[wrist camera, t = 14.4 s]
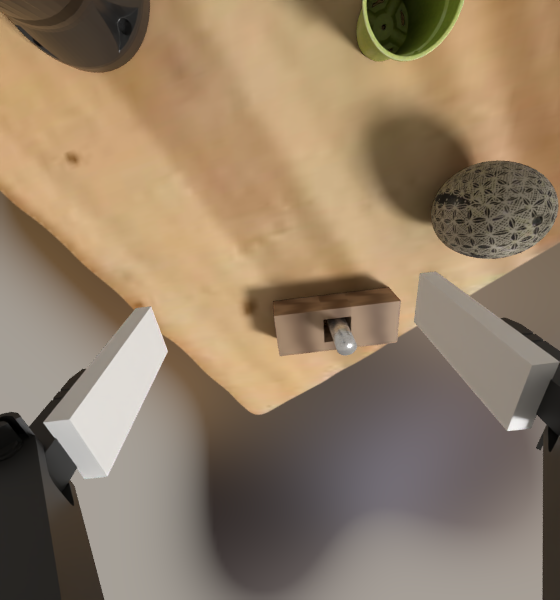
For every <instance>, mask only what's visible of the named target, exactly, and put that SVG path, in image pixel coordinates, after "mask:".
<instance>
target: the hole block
mask: <svg viewBox="0 0 560 600" xmlns="http://www.w3.org/2000/svg"><path fill="white" fill-rule="evenodd" d="M400 304H401V301H400V299H399V298H398V297H397V296H396V295H395V294H394V293H393V291H392V290H391V289H390V288H389V287H387V288H379V289H370V290H362V291H354V292H346V293H337V294H329V295H321V296H313V297H304V298H296V299H288V300H280V301H273V309H274V321H275V328H276V335H277V341H278V348H279V355H280V356H286V355H294V354H302V353H311V352H319V351H328V350H336V346H335V343H334V341H333V338H332V335H331V332H330V329H329V327H328V325H325V326H324V323H323V320H325V319H334V318H342V317H344V318H345V320H346V322H347V325H348V327H349V329H350V331H351V333H352V335H353V337H354V339H355V342H356V344H357V347H361V346H370V345H378V344H387V343H395V342H397V337H398V326H399V315H400Z"/></svg>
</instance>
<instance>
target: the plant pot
mask: <svg viewBox="0 0 560 600" xmlns="http://www.w3.org/2000/svg"><path fill="white" fill-rule="evenodd" d="M377 1H378V0H362V9H361V12H360V15H359V18H358V22H357V28H356V36H357V42H358V45H359V48H360V50H361V51H362V53H363V54H364V55H365V56H366V57H368V58H369V59H371V60H374V61H384V60H388V59H393V60H397V61H411V60H415V59H418V58H421V57H423V56H425V55H426V54H428V53H430V52H431V51H432V50H434V49H435V48H436V47H437V46H438V45H439V44H440V43H441V42H442V41H443V40H444V39H445V38H446V36H447V35H448V34H449V32H450V31H451V29H452V28H453V26H454V24H455V22H456V20H457V18H458V16H459V14H460V12H461V9H462V6H463V3H464V0H384V2H383V3H380V4H378V5H376V6H374V7H372V4H373V3H375V2H377ZM400 11H402V13H403V15H404V25H403V26H402V24H401V15H400V14H401V13H400ZM384 24H385V25H386V28H385V29H384V30H382V28H381V27H382V25H384ZM391 48H393V49H392V51H391V52H389V51H387V50H389V49H391Z"/></svg>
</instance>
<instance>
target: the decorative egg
mask: <svg viewBox="0 0 560 600" xmlns="http://www.w3.org/2000/svg"><path fill="white" fill-rule="evenodd" d="M557 212H558V199H557V194H556V192H555V189H554V187H553V186H552V184H551V183H550V181H549V180H548V179H547V178H546V177H545V176H544V175H543V174H541V173H540V172H538V171H537V170H535V169H533V168H531V167H529V166H526V165H523V164H520V163H516V162H510V161H488V162H482V163H478V164H475V165H472V166H469V167H467V168H465V169H463V170H461V171H459V172H458V173H456V174H455V175H453V176H452V177H451V178H450V179H449V180H448V181H446V183H445V184H444V185H443V186H442V187H441V189H440V190H439V191H438V193H437V195H436V197H435V199H434V201H433V205H432V210H431V220H432V225H433V229H434V231H435V233H436V235H437V236H438V238H439V239H440V240H441V241H442V242H443V243H444V244H445V245H446V246H447V247H449V248H450V249H452V250H454V251H456V252H458V253H460V254H463V255H466V256H470V257H475V258H485V259H496V258H503V257H508V256H512V255H515V254H518V253H521V252H523V251H525V250H527V249H529V248H530V247H532V246H534V245H535V244H536V243H538V242H539V241H540V240H541V239H542V238H543V237H544V236H545V235H546V234H547V233H548V232H549V230H550V229H551V228H552V226H553V224H554V222H555V219H556V217H557Z"/></svg>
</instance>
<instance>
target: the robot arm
mask: <svg viewBox="0 0 560 600" xmlns="http://www.w3.org/2000/svg"><path fill="white" fill-rule="evenodd" d="M0 12H2V13H4V14H5V15H6V16H7V17H8V19H9V20H10V21H11V22H12V23H13V24H15V26H16V27H17V28H18V29H19V30H20V31H21V32H22V33H23V34H24V35H25V36H26V37H27V38H28V39H29V40H30V41H31V42H32V43H33V44H34V45H35V46H37V47H38V48H39V49H40V50H42V51H43V52H45V53H46V54H48V55H49V56H51V57H52V58H54V59H56V60H58V61H60V62H62V63H64V64H67V65H69V66H71V67H74V68H76V69H79V70H83V71H87V72H107V71H111V70H114V69H117V68H119V67H121V66H123V65H124V64H126V63H127V62H128V61H129V60H130V59H131V58H132V57H133V56H134V55H135V54H136V52H137V51H138V49H139V48H140V46H141V44H142V42H143V40H144V37H145V34H146V30H147V26H148V21H149V12H150V0H0ZM414 322H415V323H416V325H417V326H418V327H419V328H420V329H421V330H422V332H423V333H424V334H425V335H426V336H427V337H428V339H429V340H430V341H431V342H432V343H433V345H434V346H435V347H436V348H437V349H438V350H439V351H440V353H441V354H442V355H443V356H444V357H445V359H446V360H447V361H448V362H449V363H450V364H451V366H452V367H453V368H454V369H455V370H456V372H457V373H458V374H459V375H460V376H461V377H462V379H463V380H464V381H465V382H466V383H467V384H468V386H469V387H470V388H471V389H472V390H473V392H474V393H475V394H476V395H477V396H478V397H479V399H480V400H481V401H482V402H483V403H484V405H486V407H487V408H488V409H489V410H490V411H491V413H492V414H493V415H494V416H495V417H496V418H497V420H498V421H499V422H500V423H501V424H502V426H503V427H504V428H505V429H506V430H507V431H511V430H520V429H529V428H531V427H532V425H533V422H534V420H535V418H536V415H538V416H539V417H540V418H541V419H542V420H543V421H544V422H545V423H546V424H547V425H546V427H545V429H544V432H543V434H542V436H541V438H540V440H539V442H538V444H537V447H536V448H537V449H539V450H541V448H542V446H543V600H560V351H559V350H558V349H556V348H554V347H553V346H552V345H550V344H549V343H547V342H546V341H543V339H542V338H540V337H539V336H537V335H536V334H533V332H532V331H530V330H529V329H527V328H526V327H524V326H523V325H521V324H519V323H517V322H515V321H512V320H510V319H507V318H499V317H498V316H496V315H495V314H493V313H492V312H491V311H489V310H488V309H487V308H485V307H484V306H482V305H481V304H480V303H478V302H477V301H475V300H474V299H473V298H471V297H470V296H469V295H467V294H466V293H465V292H463V291H462V290H460V289H459V288H458V287H456V286H455V285H454V284H452V283H451V282H449V281H448V280H447V279H445V278H444V277H443V276H441V275H440V274H439V273H437V272H428V273H420V276H419V284H418V293H417V301H416V309H415V317H414ZM167 352H168V351H167V348H166V345H165V343H164V340H163V337H162V334H161V332H160V329H159V326H158V324H157V321H156V318H155V316H154V313H153V310H152V308H151V306H150V307H142V308H135V310H134V311H133V312H132V314H131V315H130V316H129V317H128V318H127V320H126V321H125V322H124V323H123V325H122V326H121V327H120V328H119V329H118V331H117V332H116V333H115V334H114V336H113V337H112V338H111V339H110V341H109V342H108V343H107V344H106V345H105V347H104V348H103V349H102V351H101V352H100V353H99V354H98V355H97V357H96V358H95V359H94V360H93V362H92V363H91V364H90V365H89V367H88V368H87V369H82V370H81V371H79V372H78V373H77V374H75V375H74V376H73V377H72V378H70V379H69V380H68V382H67V383H66V384H65V385H64V386H63V387H62V389H61V391H60V392H58V393H57V395H56V396H55V397H54V399H53V400H52V401H51V402H50V403H49V404H48V405H47V406H46V407H45V409H44V410H43V411H42V412H41V413H40V415H39V416H38V417H37V418H36V419H35V420H34V422H33V423H32V424H31V425H30V426H29V427H28V425H27V424H26V423H25V421H24V420H23V419H22V418H21V416H20V415H19V414H18V413H14V412H9V413H4V414H1V415H0V600H104V597H103V593H102V589H101V585H100V582H99V578H98V574H97V570H96V566H95V562H94V559H93V555H92V551H91V547H90V543H89V540H88V536H87V532H86V528H85V524H84V520H83V517H82V513H81V509H80V506H79V501H78V498H77V494H76V490H75V486H74V485H73V483H72V482H71V481H70V479H71V477H72V475H73V474H74V472H75V470H76V469H78V471H79V472H80V473H81V475H82V476H83V478H84V479H89V478H99V477H107V476H108V474H109V472H110V470H111V468H112V466H113V464H114V462H115V460H116V458H117V456H118V453H119V452H120V449H121V447H122V445H123V443H124V441H125V439H126V437H127V435H128V433H129V431H130V429H131V427H132V424H133V422H134V420H135V418H136V416H137V414H138V412H139V410H140V408H141V406H142V404H143V401H144V399H145V397H146V395H147V393H148V391H149V389H150V387H151V385H152V383H153V381H154V379H155V377H156V375H157V373H158V370H159V368H160V366H161V364H162V362H163V360H164V358H165V356H166V354H167Z"/></svg>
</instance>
